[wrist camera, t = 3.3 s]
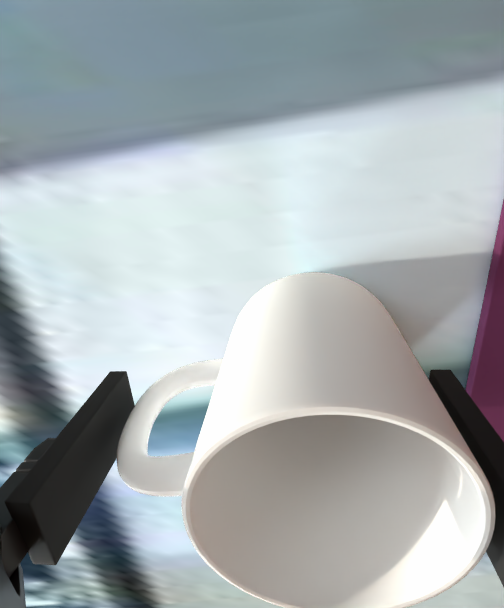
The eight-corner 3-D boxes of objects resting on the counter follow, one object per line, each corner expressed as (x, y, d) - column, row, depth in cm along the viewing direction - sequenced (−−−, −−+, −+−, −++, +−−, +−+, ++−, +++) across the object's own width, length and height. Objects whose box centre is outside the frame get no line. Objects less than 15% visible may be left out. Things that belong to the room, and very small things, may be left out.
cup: (391, 401, 20) (478, 622, 11) (184, 411, 22) (106, 608, 12) (393, 258, 17) (520, 396, 8) (151, 283, 18) (11, 420, 9)
